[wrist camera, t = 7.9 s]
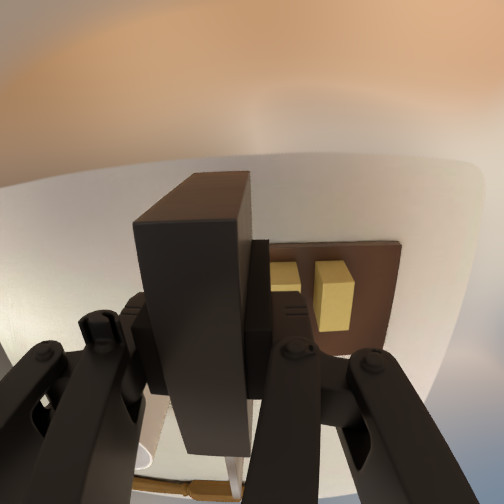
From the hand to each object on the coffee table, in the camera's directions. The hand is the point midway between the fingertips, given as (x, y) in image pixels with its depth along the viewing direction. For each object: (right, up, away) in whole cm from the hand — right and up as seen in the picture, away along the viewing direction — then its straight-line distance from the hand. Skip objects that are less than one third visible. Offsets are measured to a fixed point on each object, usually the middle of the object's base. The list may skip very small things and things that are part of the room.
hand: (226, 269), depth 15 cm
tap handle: (-12, -40, +31) cm, 52 cm away
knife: (0, -4, +2) cm, 5 cm away
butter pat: (+8, -2, +13) cm, 16 cm away
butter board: (+6, -4, +15) cm, 17 cm away
